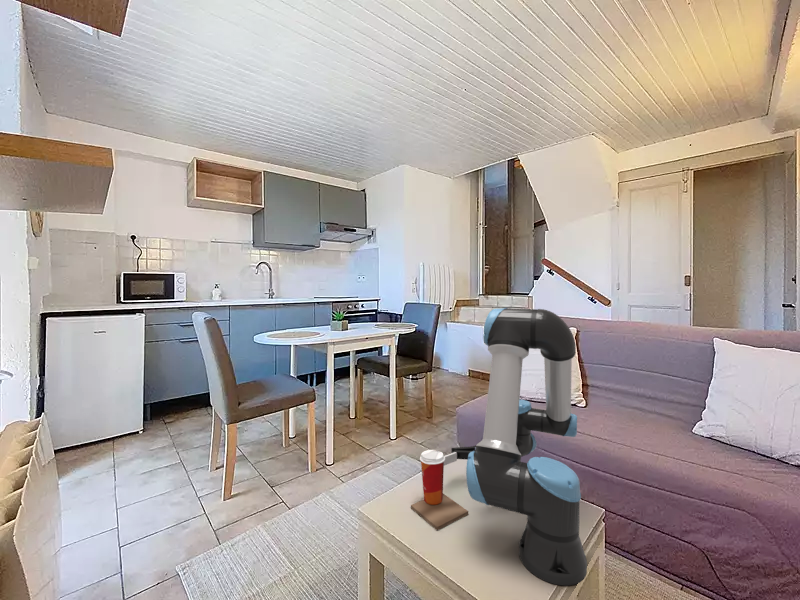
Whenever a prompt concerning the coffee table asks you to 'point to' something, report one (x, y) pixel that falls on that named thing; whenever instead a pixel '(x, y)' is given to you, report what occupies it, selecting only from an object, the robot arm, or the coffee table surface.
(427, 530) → the coffee table surface
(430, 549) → the coffee table surface
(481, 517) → the coffee table surface
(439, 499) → the paper cup
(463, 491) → the coffee table surface
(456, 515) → the walnut pad
